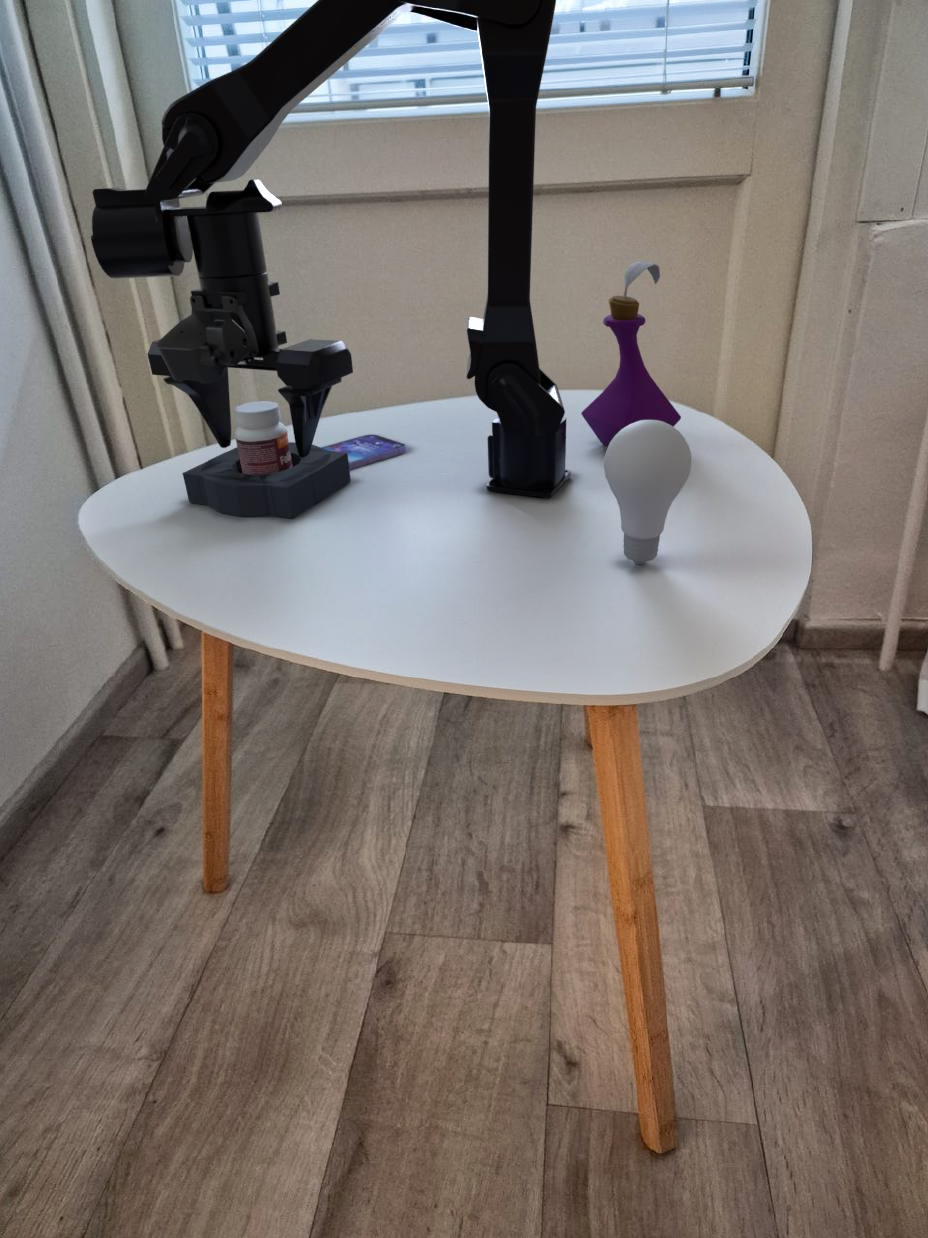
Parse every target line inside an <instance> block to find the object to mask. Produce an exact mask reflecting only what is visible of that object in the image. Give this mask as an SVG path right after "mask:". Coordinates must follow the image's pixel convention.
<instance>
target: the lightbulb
mask: <svg viewBox="0 0 928 1238" xmlns="http://www.w3.org/2000/svg"><path fill="white" fill-rule="evenodd" d="M691 470H692V453H691V449H690V445H689V444H688V442H687V440H686V438H685V437H684V435H683V434H682V433H681V432H680V430H678V429H677V428H675V426H674V427H673V426H671V425H669V424H667V423H665V422H662V421H658V420H641V421H637V422H634V423H632V424H629V425H628V426H626V427H624V428H623V429H621V430H620V431H619V432H618V433H617V434H616V435H615V436H614V438H613V439H612V440H611V442H610V444H609V446H607V448H606V451H605V454H604V458H603V471H604V475H605V479H606V482H607V484H608V486H609V488H610V490H611V492H612V494H613V496H614V497H615V499H616V502H617V505H618V508H619V514H620V528H621V531H622V533H623V555H624V556H625V558H627V559H628V560H630V561H632V562H633V563H634V564H635V565H636V564H637V565H644V564H646V563H648V562H651V561H652V560H654V559H655V558H656V557H657V556H658V552H659V546H660V538H661V534H663V532H664V530H665V524H666V520H667V519H666V518H667V516H668V513H669V510H670V508H671V506H672V504H673V502H674V501H675V500H676V499H677V497H678V495H679V494H680V492H681V491H682V490H683V488H684V486H685V485H686V483H687V482H688V480H689V476H690V474H691Z"/></svg>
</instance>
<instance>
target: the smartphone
mask: <svg viewBox="0 0 928 1238" xmlns="http://www.w3.org/2000/svg"><path fill="white" fill-rule="evenodd" d="M406 445H407V444H405V443H404V442H400V441H397V440H394V439H391V438H388V437H385V436H382V435H379V434H374V433H373V434H364V435H361V436H357V437H353V438H350V439H346V440H343V441H339V442H336V443H331V444H329V445H328V444H327V445H325V446H320V447H321V448H323V449H326V450H329V451H337V452H346V453H348V462H349V470H352V469H355V468H359V467H362V466H366V465H369V464H372V463H375V462H378V461H379V462H380V461H382V460H386V459H388V458H392V457H396V456H399V455H402V454H404V453H406V452H407V446H406Z"/></svg>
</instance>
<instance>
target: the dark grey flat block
mask: <svg viewBox="0 0 928 1238" xmlns="http://www.w3.org/2000/svg"><path fill="white" fill-rule="evenodd" d="M321 447H322V446H318V445H315V444H312V446H311V449H310V453H309V455H308V456H306V457H304V458H301V457H299V454H298V451H297V447H296V443H295V441H289V448H290V454H291V460H292V468H290V469H287V470H283V471H280V472H276V473H269V474H256V475H250V474H243V473H242V468H241V463H240V457H239V452H238V447H237V446H236V447H234V448H231V449H230V450H228V451H225V452H223V453H220V454H219V455H216V456H215V457H212V458H210V459H208V460H207V461H204V462H203V463H201V464H198V465H196V466H194V467H192V468H190V469H188V470H186V471H184V472H183V473H182V477H183V481H184V485H185V490H186V495H187V498H188V503H190V504H197V505H202V506H207V507H209V508H211V509H212V510H214V511H216V512H218V513H220V514H223V515H229V516H235V517H243V518H245V517H270V516H271V517H277V518H284V519H290V520H293V519H295V518H296V517H299V515H301V514H302V513H304V512H305V511H307V510H309V509H310V508H312V507H313V506H315V505H318V504H319V503H321V502H322V501H324V500H325V499H327V498H328V497H330V496H331V495H333V493H335V492H337V491H338V490H339V489H341V488H343V487H344V486H346V485H348V484H349V483H351V481H352V479H351V471H350V470H351V469H349V462H348V453H346V452H337V451H329V450H326V449H323V448H321Z"/></svg>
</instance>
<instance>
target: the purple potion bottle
mask: <svg viewBox="0 0 928 1238" xmlns="http://www.w3.org/2000/svg"><path fill="white" fill-rule="evenodd" d="M646 270H647V271H648V272H649V274H650V275H651V277H652V280H653V282H654V284H655V285H656V284H657V283H658V282H659V279H660V277H661V272H660V270H661V269H660V267H659V264H655V263H653V262H649V261H635V262H633V263H631V264H630V265H629V266H627V268H626V271H625V273H624V291H623V295H612V296H611V297H610V298H609V299H608V304H609V310H610V314H608V315H606V316H605V317H604V318H603V321H602V323H603V325H604V326H605V327H607V328H610V330H611V332H612V334H614V336H615V339H616V342H617V344H618V350H619V367H618V370H617V372H616V374H615V377H614V378H613V379H612V380H611V382H610V383H609V384H608V385H607V386H606V388H605V389H603V391H602V392H601V393H600V394H599V395H598V396H597V397H596V398H595V399H594V400H593V401H592V402H591V403H589V404H588V405H587V407H585V408H584V409H583V410H582V411H581V412H580V413H581V416H582V417H583V419H584V420H585V422H586V423H587V425H588V426H589V428H590V429H591V430H592V432H593V433H594V435H595V436H596V438H597V439H598V440H599V442H600V443H601V445H604V446H606V447H608V446H609V444H610V442H611V440H612V439H613V438H614V436H615V435H616V434H617V433H618V432H619V431H620V430H621V429H623V428H624V427H626V426H628V425H629V424H632V423H634V422H637V421H641V420H658V421H662V422H665V423H667V424H669V425H671V426H673V427H674V428H675V426H676V425H677V424H678V423H679V422H680V420H681V419H682V416H681V414H680V413H679V412H678V410H677V409H676V408H675V407H674V405H673V404H672V402H671V401H670V400H669V399H668V398H667V396H666V395H665V394H664V392H663V391H662V390H661V388H660V387H659V386H658V385H657V383H656V382H655V380H654V379H653V377H652V376H651V375H650V373H649V371H648V369H647V367H646V365H645V363H644V360H643V357H642V355H641V351H640V347H639V343H638V332H639V330H640V327H641V326H644V325H645V324H646V317H645V316H644V315H642V314H639V309H640V302H639V301H638V300H637V299H636V298H634V297H632V296H627V295H628V294H627V293H628V288H629V286H630V285H632V284H633V282H634V281H635V280H636V279H637V278H638V277H640V276H641V274H642V273H643V272H644V271H646Z"/></svg>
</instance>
